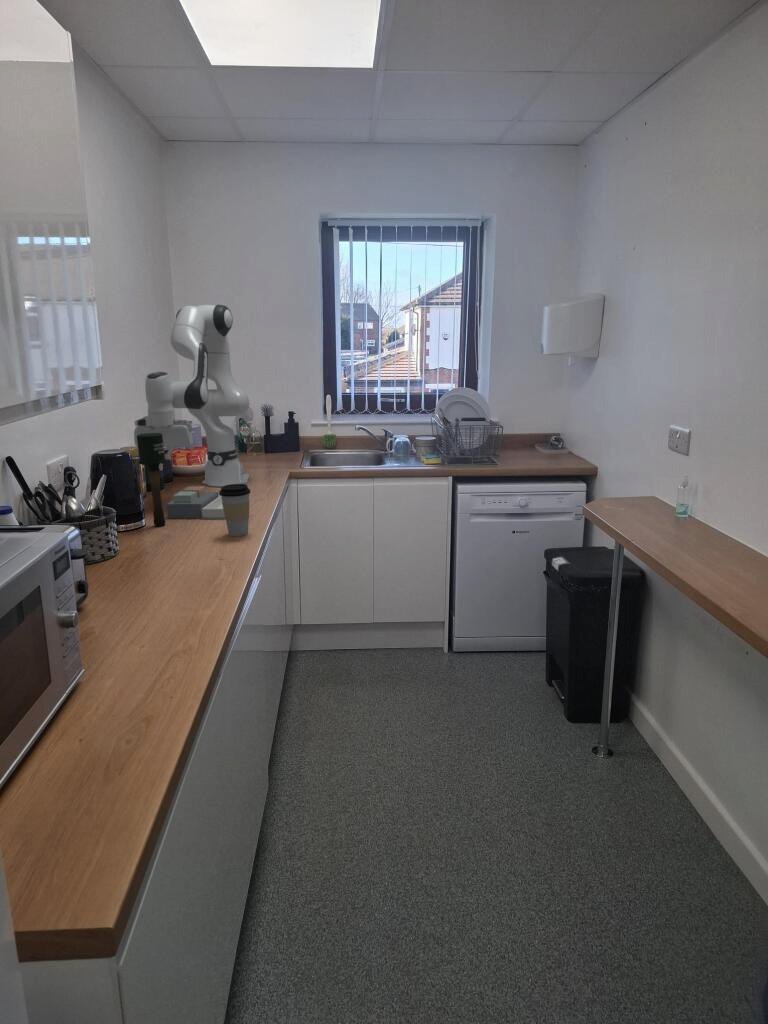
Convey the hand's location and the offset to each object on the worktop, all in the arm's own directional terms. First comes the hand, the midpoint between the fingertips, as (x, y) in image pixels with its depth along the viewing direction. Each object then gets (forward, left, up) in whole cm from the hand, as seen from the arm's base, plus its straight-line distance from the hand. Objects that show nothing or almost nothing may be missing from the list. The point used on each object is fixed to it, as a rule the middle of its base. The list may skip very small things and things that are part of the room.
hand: (165, 459), depth 236 cm
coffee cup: (+31, +34, -18) cm, 49 cm away
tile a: (0, +9, -13) cm, 16 cm away
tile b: (+8, +9, -13) cm, 18 cm away
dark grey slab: (+4, +10, -18) cm, 21 cm away
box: (+4, +22, -18) cm, 28 cm away
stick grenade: (+22, +5, -18) cm, 29 cm away
